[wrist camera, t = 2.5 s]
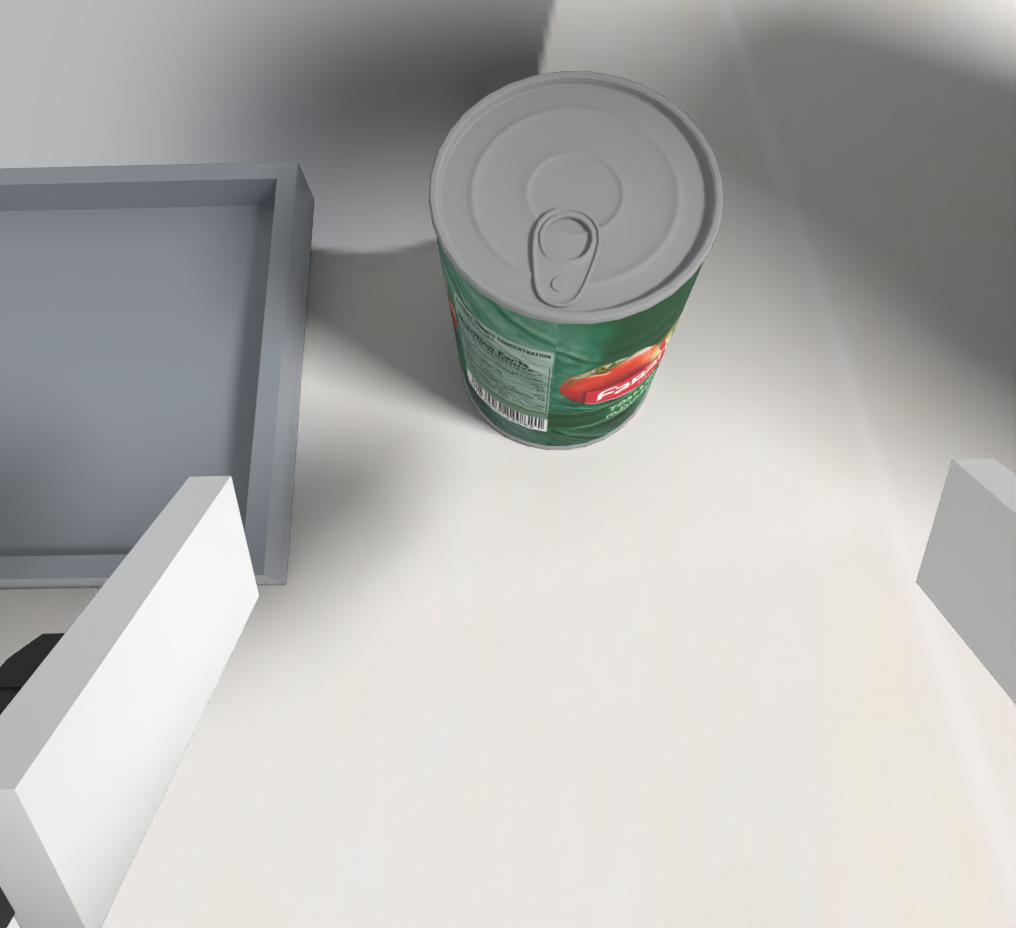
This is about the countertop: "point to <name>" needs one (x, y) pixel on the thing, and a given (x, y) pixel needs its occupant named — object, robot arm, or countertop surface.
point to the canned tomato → (570, 248)
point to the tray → (146, 357)
